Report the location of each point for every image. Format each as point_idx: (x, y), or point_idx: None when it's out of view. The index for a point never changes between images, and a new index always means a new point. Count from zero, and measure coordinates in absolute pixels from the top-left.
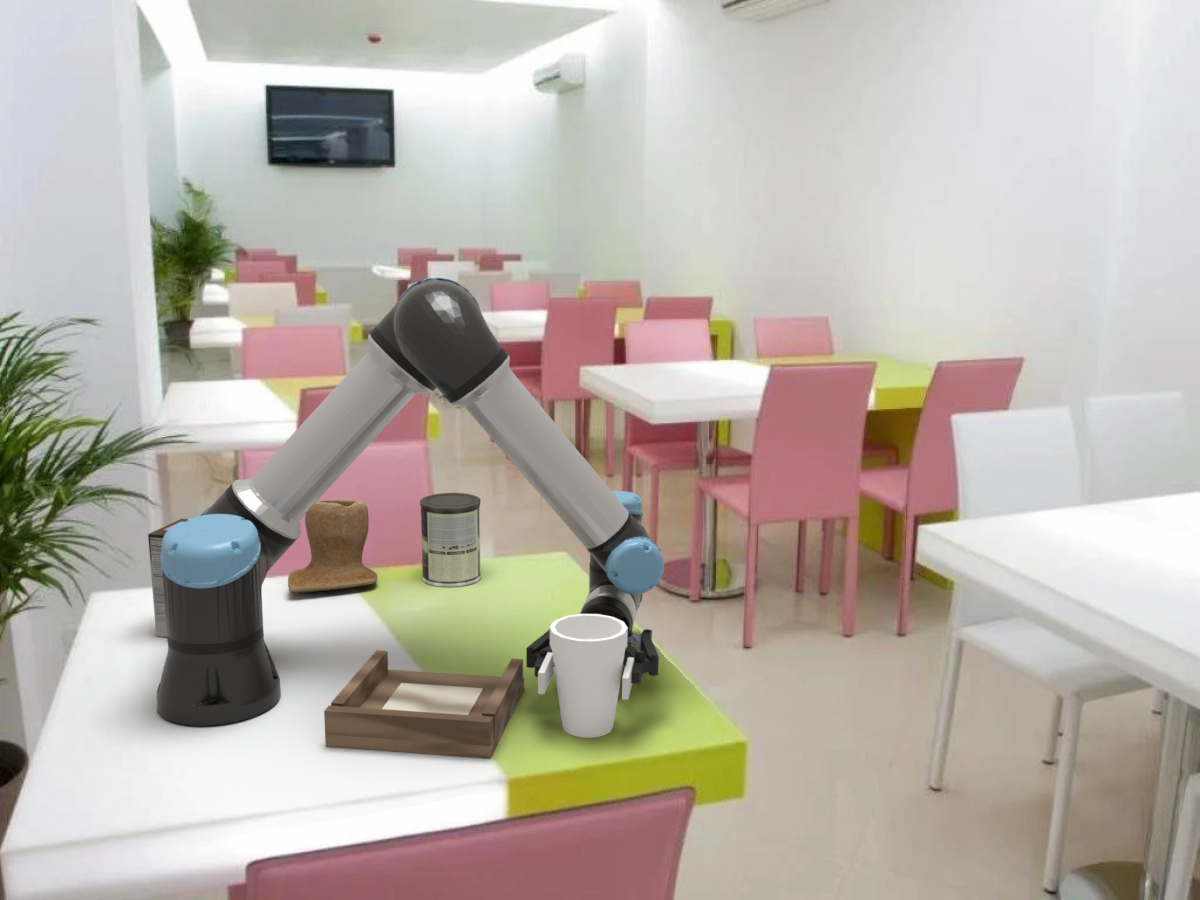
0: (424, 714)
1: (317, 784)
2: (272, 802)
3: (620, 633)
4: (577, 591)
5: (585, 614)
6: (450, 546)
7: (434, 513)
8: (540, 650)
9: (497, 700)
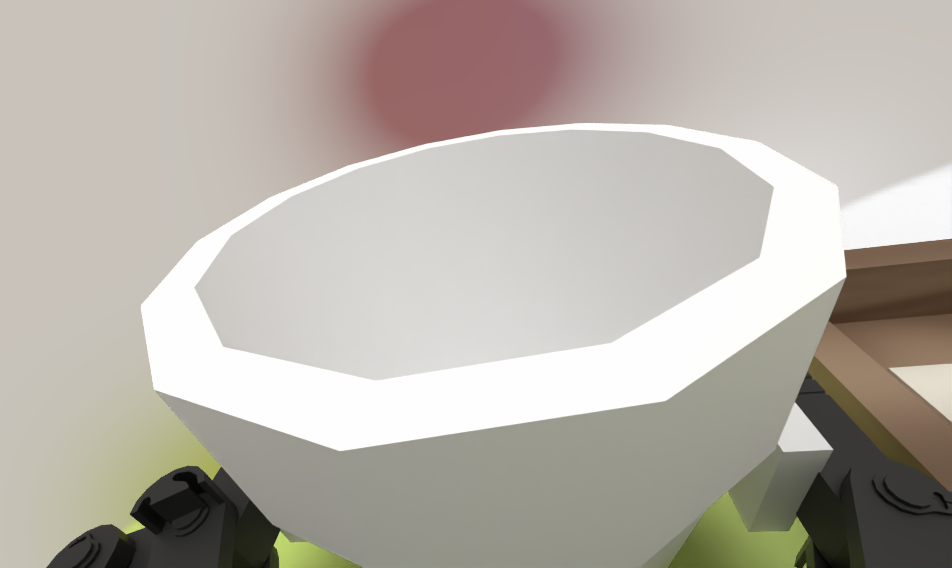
0: (936, 251)
1: (927, 225)
2: (921, 195)
3: (286, 196)
4: None
5: (574, 392)
6: None
7: None
8: (945, 495)
9: (825, 348)
